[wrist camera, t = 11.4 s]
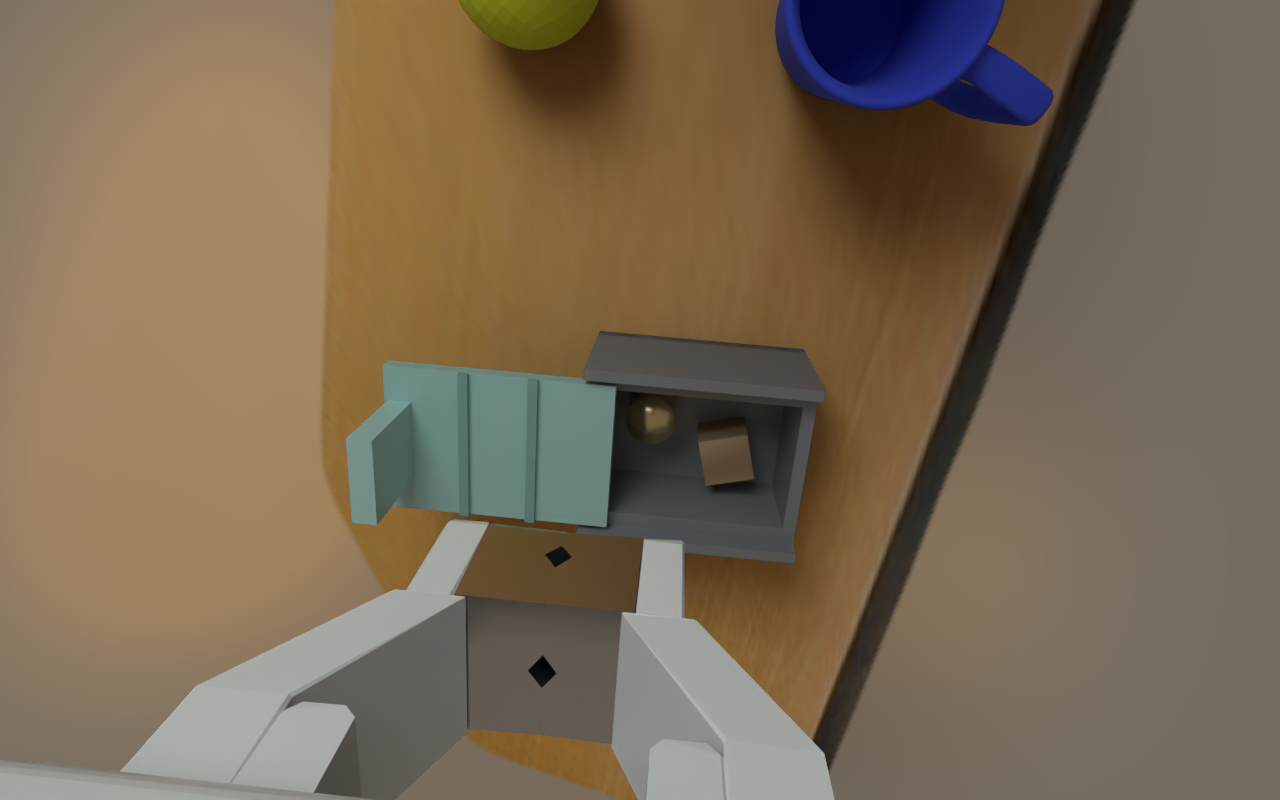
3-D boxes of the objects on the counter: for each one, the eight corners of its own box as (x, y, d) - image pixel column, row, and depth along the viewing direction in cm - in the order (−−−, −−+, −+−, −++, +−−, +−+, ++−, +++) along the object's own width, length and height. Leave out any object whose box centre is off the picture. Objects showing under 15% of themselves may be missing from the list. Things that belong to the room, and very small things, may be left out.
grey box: (600, 331, 42) (583, 369, 36) (803, 349, 42) (825, 391, 35) (591, 481, 46) (575, 541, 39) (778, 499, 46) (794, 563, 39)
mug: (914, 186, 39) (987, 204, 29) (727, 57, 37) (741, 32, 28) (1021, 41, 36) (1139, 10, 27) (825, -105, 34) (877, -193, 25)
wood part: (697, 423, 43) (698, 442, 41) (743, 416, 43) (747, 435, 40) (704, 464, 44) (705, 485, 42) (749, 458, 44) (753, 479, 41)
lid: (388, 360, 37) (338, 399, 32) (617, 381, 37) (605, 424, 32) (395, 499, 40) (350, 556, 35) (607, 519, 40) (595, 580, 35)
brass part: (631, 379, 43) (627, 396, 40) (678, 383, 43) (677, 400, 40) (628, 423, 44) (624, 442, 41) (674, 427, 44) (673, 446, 41)
